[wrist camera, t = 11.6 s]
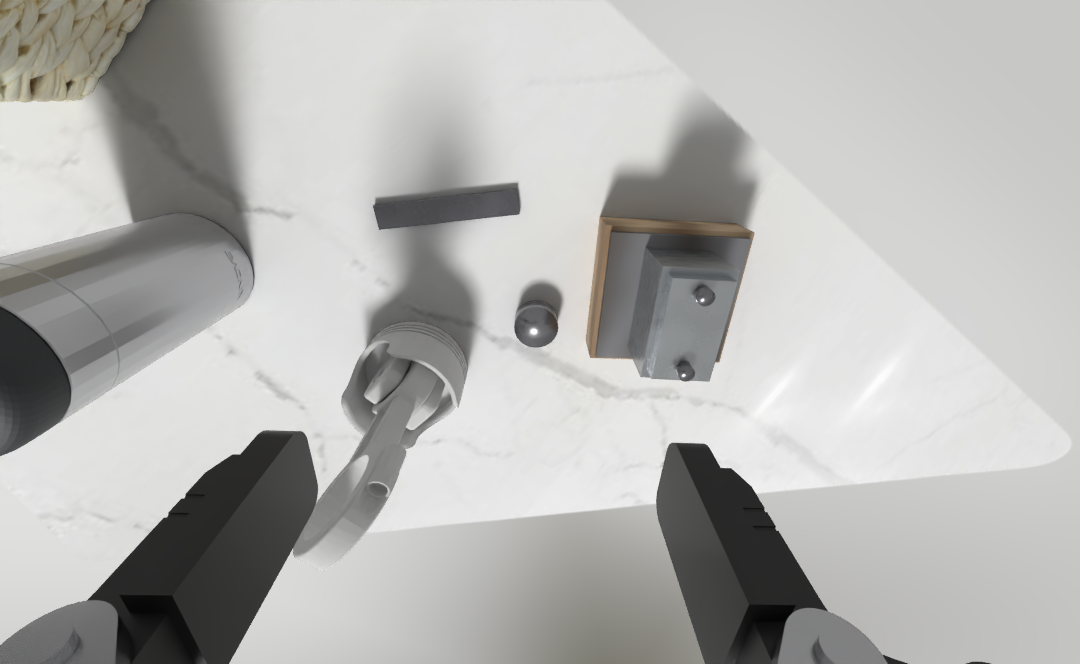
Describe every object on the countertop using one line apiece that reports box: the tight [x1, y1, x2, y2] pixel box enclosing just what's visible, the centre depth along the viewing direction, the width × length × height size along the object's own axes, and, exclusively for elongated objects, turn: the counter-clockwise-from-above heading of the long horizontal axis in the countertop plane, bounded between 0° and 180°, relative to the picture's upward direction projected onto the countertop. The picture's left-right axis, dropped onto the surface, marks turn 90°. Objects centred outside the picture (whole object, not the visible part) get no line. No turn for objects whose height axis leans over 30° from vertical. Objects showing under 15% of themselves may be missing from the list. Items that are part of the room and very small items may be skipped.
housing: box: [628, 247, 740, 381], centre depth 33 cm, size 9×6×7 cm, turn 176°
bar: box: [373, 189, 519, 230], centre depth 36 cm, size 12×2×1 cm, turn 96°
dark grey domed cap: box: [515, 300, 558, 347], centre depth 40 cm, size 4×4×2 cm
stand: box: [586, 217, 754, 362], centre depth 38 cm, size 12×12×4 cm
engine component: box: [293, 321, 467, 570], centre depth 34 cm, size 11×20×10 cm
